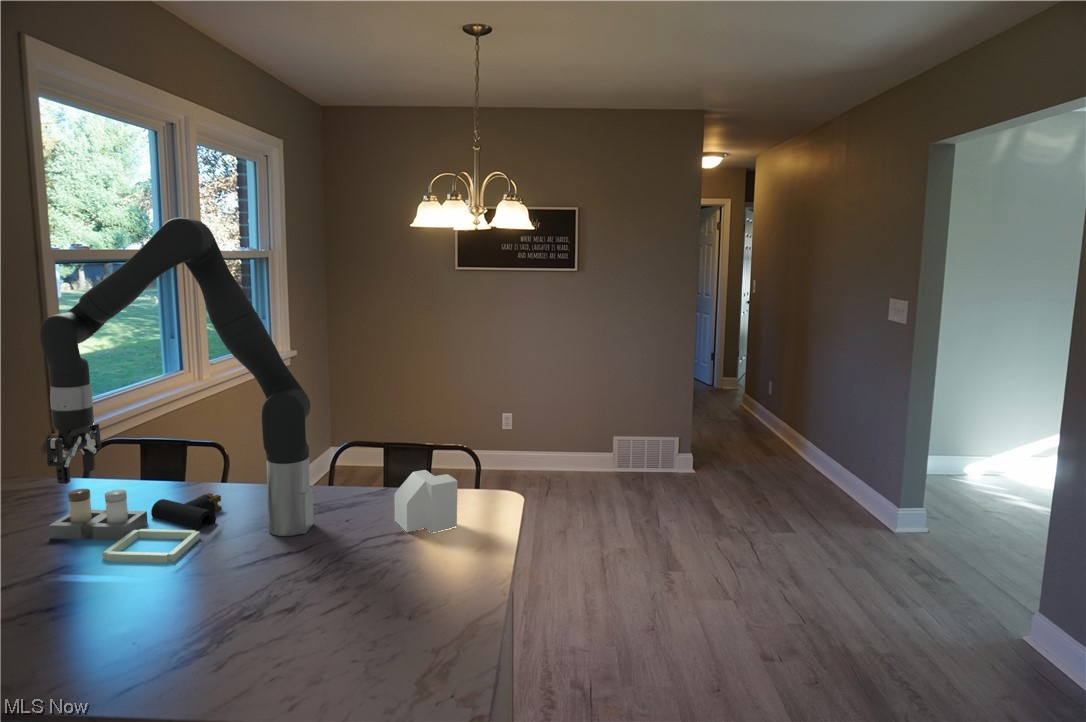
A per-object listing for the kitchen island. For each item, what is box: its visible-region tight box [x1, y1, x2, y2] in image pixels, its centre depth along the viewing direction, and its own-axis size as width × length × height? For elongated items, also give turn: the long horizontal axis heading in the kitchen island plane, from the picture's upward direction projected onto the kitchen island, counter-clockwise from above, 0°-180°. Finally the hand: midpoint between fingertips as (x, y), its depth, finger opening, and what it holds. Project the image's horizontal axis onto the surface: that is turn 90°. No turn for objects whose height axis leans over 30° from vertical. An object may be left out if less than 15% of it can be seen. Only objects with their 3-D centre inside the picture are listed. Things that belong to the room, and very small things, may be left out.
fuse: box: [104, 489, 129, 524], centre depth 153 cm, size 4×4×9 cm
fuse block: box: [48, 509, 148, 541], centre depth 153 cm, size 16×9×4 cm, turn 91°
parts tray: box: [102, 528, 201, 566], centre depth 146 cm, size 14×12×2 cm
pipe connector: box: [150, 492, 222, 531], centre depth 163 cm, size 12×5×15 cm
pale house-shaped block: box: [394, 469, 458, 534], centre depth 164 cm, size 11×11×12 cm
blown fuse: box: [67, 488, 92, 523], centre depth 153 cm, size 4×4×9 cm
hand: (77, 476), depth 151 cm, fingers open, 8 cm apart
